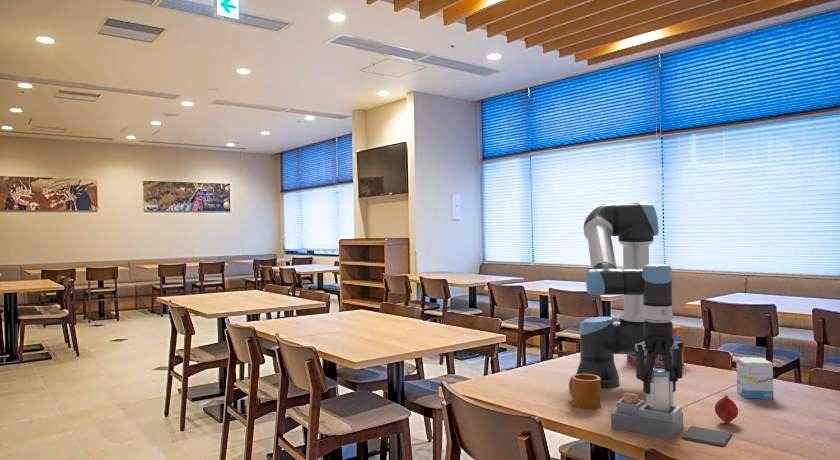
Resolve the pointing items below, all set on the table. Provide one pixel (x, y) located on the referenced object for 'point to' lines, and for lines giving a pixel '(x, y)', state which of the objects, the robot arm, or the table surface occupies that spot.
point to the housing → (647, 419)
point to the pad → (707, 436)
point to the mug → (585, 391)
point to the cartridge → (661, 390)
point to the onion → (726, 409)
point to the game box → (659, 360)
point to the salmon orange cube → (630, 398)
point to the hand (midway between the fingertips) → (659, 404)
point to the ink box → (755, 378)
